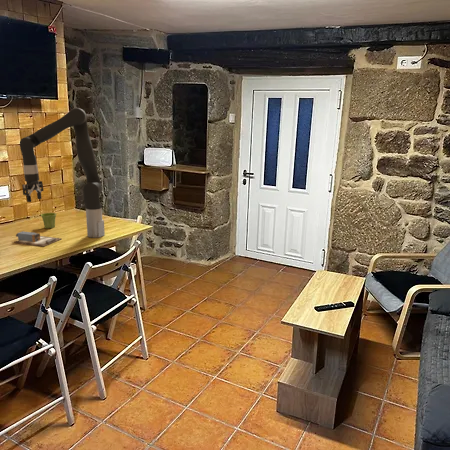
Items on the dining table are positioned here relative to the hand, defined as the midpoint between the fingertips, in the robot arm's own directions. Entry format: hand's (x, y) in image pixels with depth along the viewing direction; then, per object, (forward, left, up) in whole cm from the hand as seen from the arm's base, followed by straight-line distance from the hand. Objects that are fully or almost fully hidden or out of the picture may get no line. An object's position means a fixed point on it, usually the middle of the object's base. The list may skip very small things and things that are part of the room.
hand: (34, 200), depth 244 cm
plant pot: (+9, -22, -23) cm, 33 cm away
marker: (+1, +7, -22) cm, 23 cm away
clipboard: (-5, +5, -23) cm, 24 cm away
